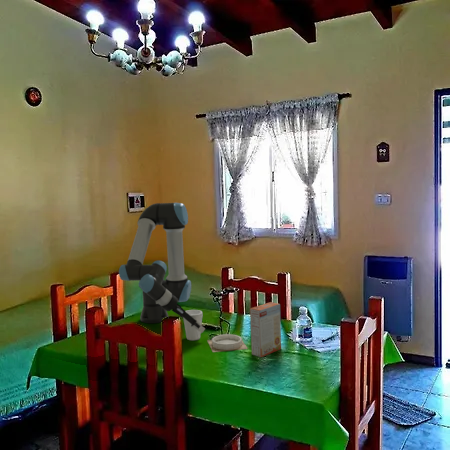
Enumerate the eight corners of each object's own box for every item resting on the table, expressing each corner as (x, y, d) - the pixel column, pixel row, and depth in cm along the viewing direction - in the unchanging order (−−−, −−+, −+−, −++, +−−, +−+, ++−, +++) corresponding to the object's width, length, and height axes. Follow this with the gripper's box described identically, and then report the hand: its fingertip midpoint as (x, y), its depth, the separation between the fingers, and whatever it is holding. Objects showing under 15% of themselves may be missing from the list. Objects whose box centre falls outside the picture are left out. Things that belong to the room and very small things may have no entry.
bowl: (210, 340, 219) (210, 335, 219) (238, 338, 222) (238, 333, 222) (215, 350, 206) (214, 345, 206) (244, 348, 209) (244, 342, 208)
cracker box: (271, 346, 211) (270, 301, 209) (281, 349, 207) (281, 303, 205) (250, 354, 201) (249, 307, 200) (261, 358, 197) (260, 310, 195)
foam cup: (200, 342, 219) (199, 315, 218) (181, 341, 220) (180, 314, 219) (205, 336, 228) (204, 310, 227) (186, 335, 230) (186, 309, 229)
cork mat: (207, 341, 220) (207, 340, 220) (240, 338, 223) (240, 337, 223) (212, 353, 205) (212, 352, 205) (248, 349, 208) (248, 348, 208)
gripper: (154, 301, 226) (185, 328, 234) (169, 312, 206) (203, 340, 214) (164, 289, 228) (195, 316, 236) (180, 298, 208) (213, 327, 216)
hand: (199, 328), depth 225 cm, fingers closed on foam cup, 9 cm apart
